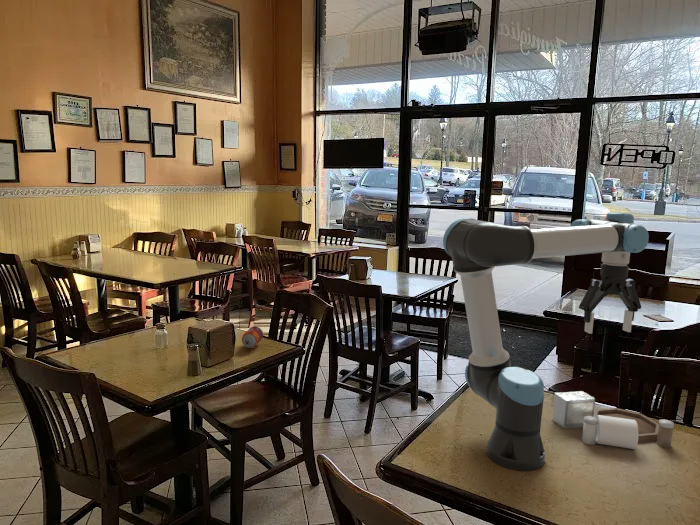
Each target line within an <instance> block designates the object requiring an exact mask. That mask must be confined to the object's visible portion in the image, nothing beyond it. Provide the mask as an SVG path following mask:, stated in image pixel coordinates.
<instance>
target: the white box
mask: <svg viewBox="0 0 700 525" xmlns="http://www.w3.org/2000/svg"><path fill="white" fill-rule="evenodd" d="M553 398H554V399H553V406H552V418H551V420H552V421H553V422H554V423H555V424H557V425H558V426H559V427H560V428H562V429H574V428H576V429H577V428H583V425H584V417H585V416H592V417H593V416H594V412H595V406H596V398H595V397H594V396H592V395H590V394H589V393H587V392H584V391H583V390H579V391H567V392H566V391H565V392H564V391H563V392H554V397H553Z"/></svg>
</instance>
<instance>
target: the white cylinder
mask: <svg viewBox="0 0 700 525" xmlns="http://www.w3.org/2000/svg"><path fill="white" fill-rule="evenodd" d="M596 418H597V419H598V425H597V434H596V443H595V444H599V445H606V446H613V447H619V448H624V449H630V450H631V449H632V450H636V449H637V446H638V443H639V442H638V425H637V422H636V421H635V420H632V419H624V418H617V417H610V416H603V415H597V416H596Z"/></svg>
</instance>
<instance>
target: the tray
mask: <svg viewBox="0 0 700 525" xmlns="http://www.w3.org/2000/svg"><path fill="white" fill-rule="evenodd" d="M597 415H603V416H610V417H617V418H624V419H632V420H635V421H636V422H637V425H638V443H639V442H646V441H647V442H649V441H657V435H658V426H659V422H656V421H655V420H653V419H651V418H649V417H648V416H646V415H644V414H643V413H639V412H634V411H631V410H626V409H623V408H617V407H611V408H598V409H597V408H596V409H594V416H593V417H595V418H596V416H597Z"/></svg>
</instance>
